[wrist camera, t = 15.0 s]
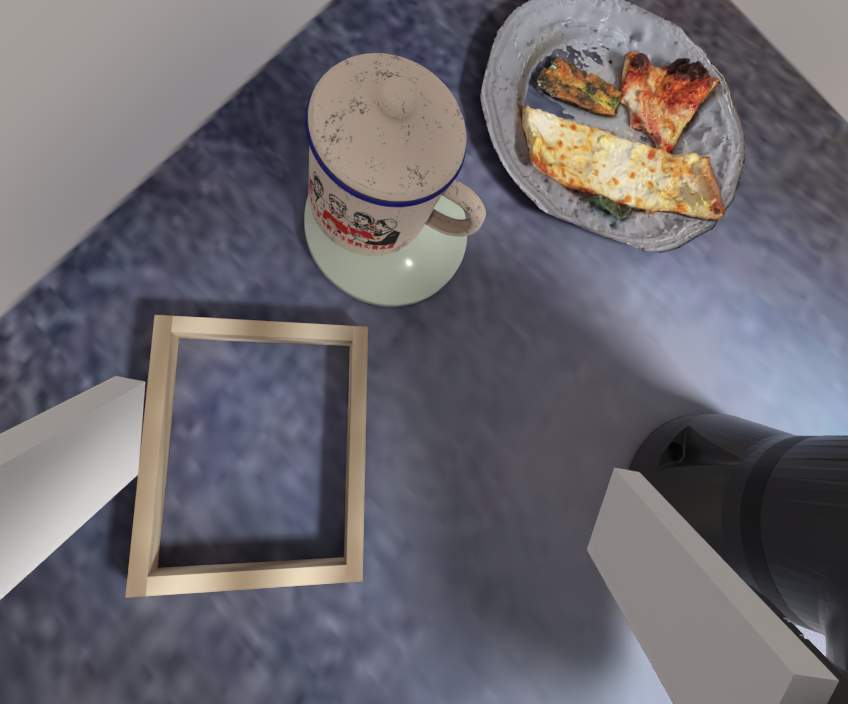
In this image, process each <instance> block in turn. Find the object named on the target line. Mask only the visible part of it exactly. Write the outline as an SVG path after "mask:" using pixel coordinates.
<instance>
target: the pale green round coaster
mask: <svg viewBox="0 0 848 704" xmlns="http://www.w3.org/2000/svg"><path fill="white" fill-rule="evenodd" d="M434 209H435V210H437V211H438V212H440V213H442V214H444V215H446V216H448V217H451V218H454V219H466V218H465V213H464V210H463V209H462V208H461V207H460V206H458V205H457V204H456V203H454V202H452V201H451V200H449V199H447V198H446V197H444V196H443V195H441V197H440V199H439V201H438V202H437V204H436V206H435V208H434ZM304 227H305V237H306V242H307V245H308V249H309V252H310V254H311V256H312V258H313V260H314V262H315V264H316V265H317V267H318V269H319V270H320V272H321V273H322V274H323V275H324V276H325V278H326V279H327V280H328V281H329V282H330V283H331V284H333V285H334V286H335V287H336V288H337V289H339V290H340V291H341V292H343V293H344V294H346V295H348V296H350V297H351V298H353V299H355V300H358V301H360V302H363V303H366V304H370V305H374V306H380V307H402V306H408V305H412V304H416V303H418V302H421V301H423V300H425V299H427V298H429V297H431V296H432V295H434V294H435V293H437V292H438V291H439V290H440V289H442V288H443V286H444V285H445V284H446V283H447V282H448V281H449V280H450V279H451V278H452V277H453V275H454V274H455V272H456V271H457V269H458V268H459V266H460V264H461V262H462V259H463V256H464V253H465V249H466V244H467V236H463V237H455V236H449V235H446V234H443V233H440V232H438V231H436V230H434V229H432V228H431V227H429V226H427V225H424V227H423V229H422V231H421V232H420V234H419V235H418V236H417V237H416V239H415V240H414V241H412V242H411V243H410V244H409V245H408V246H406V247H405V248H403V249H401V250H399V251H397V252H394V253H391V254H387V255H382V256H367V255H361V254H357V253H354V252H351V251H349V250H346V249H344V248H342V247H340V246H339V245H337V244H336V243H334V242H333V241H332V240H331V239H330V238H328V237H327V236H326V235H325V233H324V232H323V231H322V230H321V229H320V227H319V226H318V224H317V222H316V221H315V219H314V217H313V214H312V211H311V208H310V204H309V194H308V198H307V201H306V206H305V214H304Z"/></svg>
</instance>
